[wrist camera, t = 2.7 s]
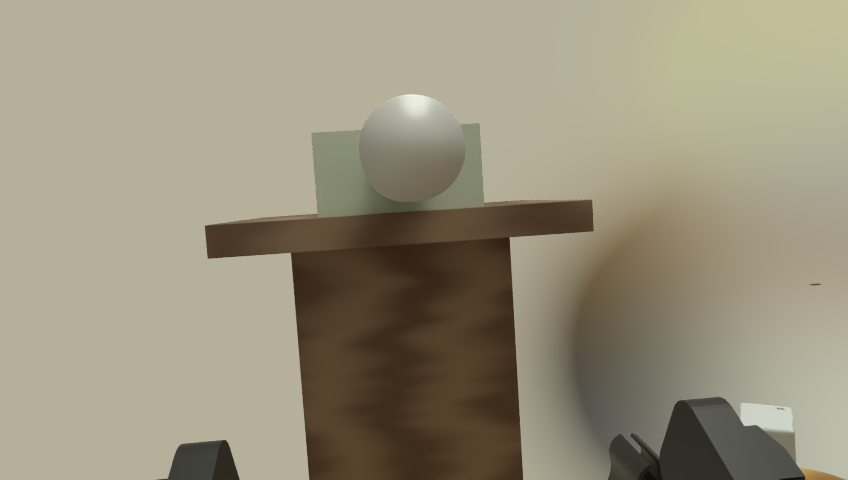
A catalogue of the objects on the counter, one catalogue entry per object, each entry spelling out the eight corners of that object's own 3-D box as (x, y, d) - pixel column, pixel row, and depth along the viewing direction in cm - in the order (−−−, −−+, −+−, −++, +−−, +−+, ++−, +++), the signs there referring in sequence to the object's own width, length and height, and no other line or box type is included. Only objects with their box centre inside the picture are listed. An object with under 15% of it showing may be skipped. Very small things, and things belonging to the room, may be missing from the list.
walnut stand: (546, 632, 45) (522, 200, 43) (621, 827, 31) (592, 199, 29) (300, 661, 44) (263, 217, 41) (263, 877, 30) (204, 225, 28)
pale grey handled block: (461, 205, 37) (457, 140, 37) (555, 210, 17) (548, 68, 17) (331, 214, 37) (326, 147, 37) (274, 229, 17) (262, 83, 17)
